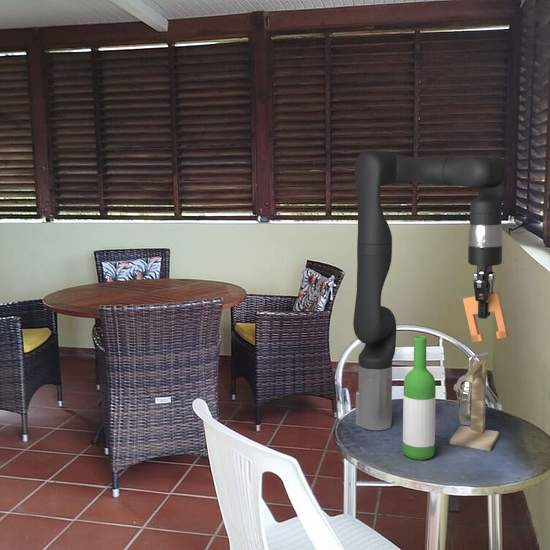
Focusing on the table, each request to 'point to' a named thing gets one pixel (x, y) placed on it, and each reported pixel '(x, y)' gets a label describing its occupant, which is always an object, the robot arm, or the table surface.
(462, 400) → the cup with straw
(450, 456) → the table surface
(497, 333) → the c link
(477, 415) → the hook stand
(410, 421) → the wine bottle
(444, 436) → the table surface
